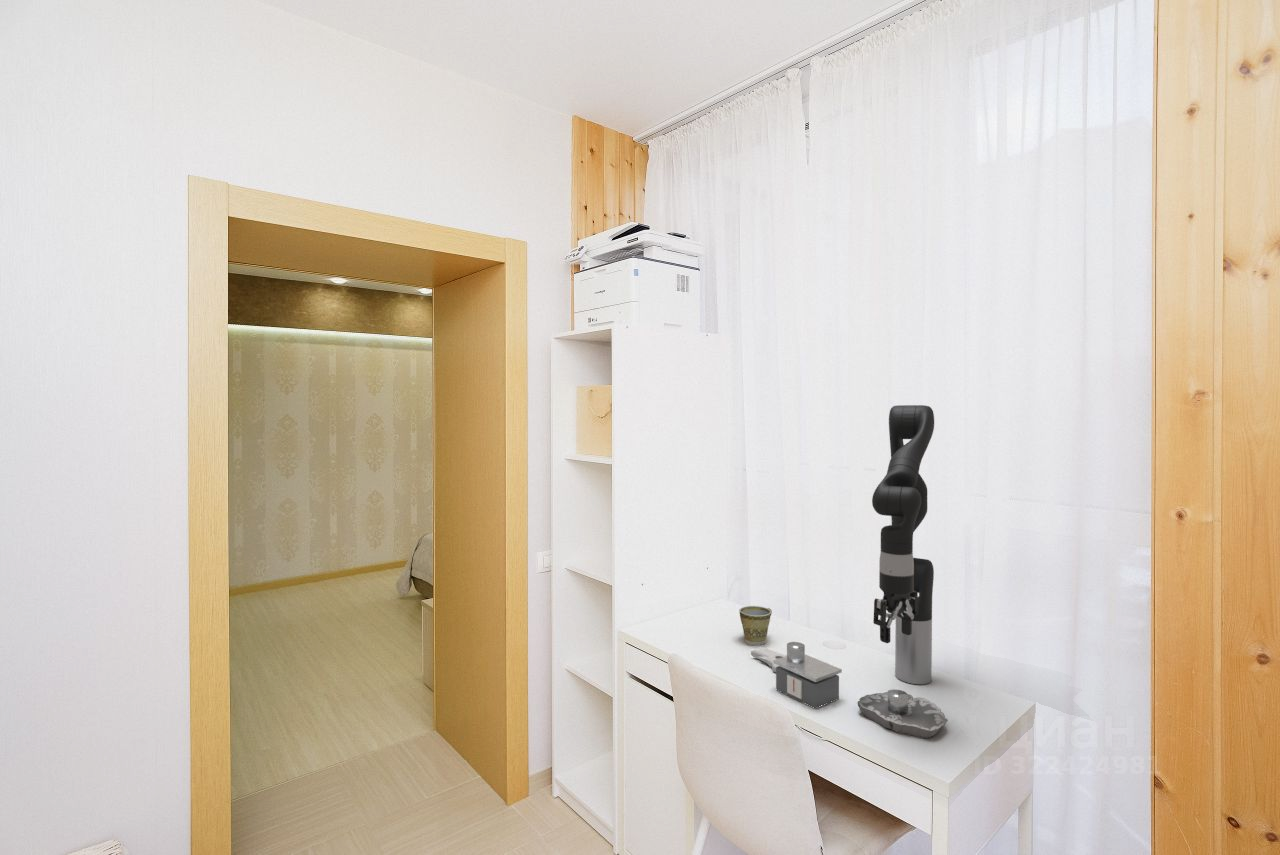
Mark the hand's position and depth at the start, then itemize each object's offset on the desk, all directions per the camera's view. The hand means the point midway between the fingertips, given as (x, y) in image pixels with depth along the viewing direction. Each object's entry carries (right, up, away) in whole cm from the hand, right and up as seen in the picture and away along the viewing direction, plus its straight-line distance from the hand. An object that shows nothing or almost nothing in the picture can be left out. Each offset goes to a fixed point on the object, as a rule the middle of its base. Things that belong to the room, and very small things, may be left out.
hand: (896, 638), depth 148 cm
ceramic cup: (-23, -19, +53) cm, 60 cm away
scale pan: (-17, -13, +15) cm, 26 cm away
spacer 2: (+1, -18, +1) cm, 18 cm away
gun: (-21, -20, +33) cm, 43 cm away
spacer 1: (-19, -12, +18) cm, 29 cm away
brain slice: (+3, -21, +2) cm, 21 cm away
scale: (-17, -20, +15) cm, 30 cm away
